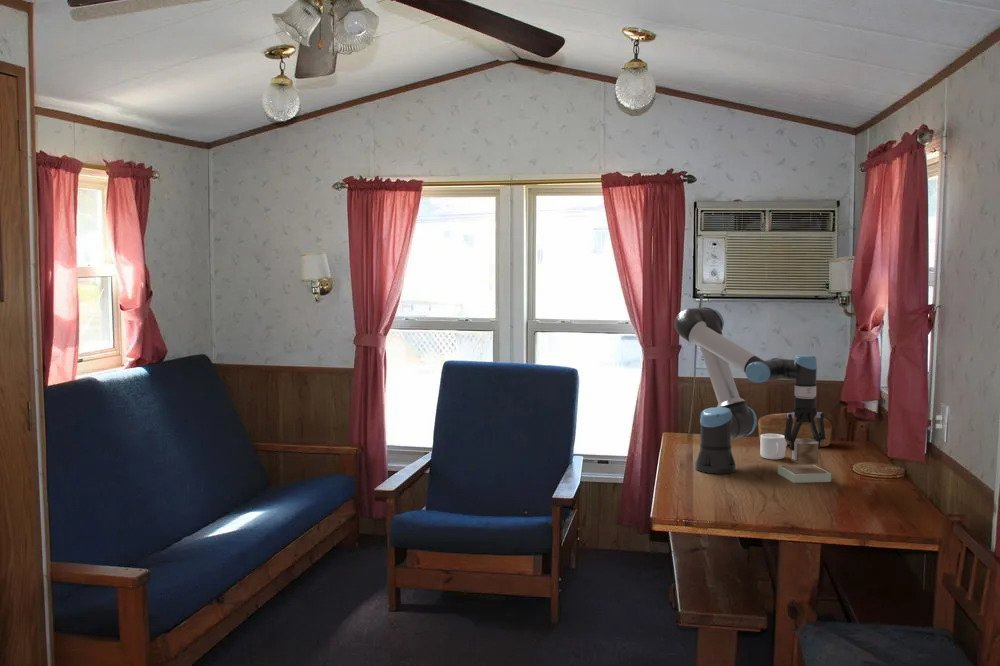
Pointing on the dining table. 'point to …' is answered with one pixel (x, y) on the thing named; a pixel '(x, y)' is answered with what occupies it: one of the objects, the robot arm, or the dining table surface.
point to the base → (804, 473)
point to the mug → (772, 446)
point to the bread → (778, 426)
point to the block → (806, 451)
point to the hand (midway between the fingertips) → (804, 458)
